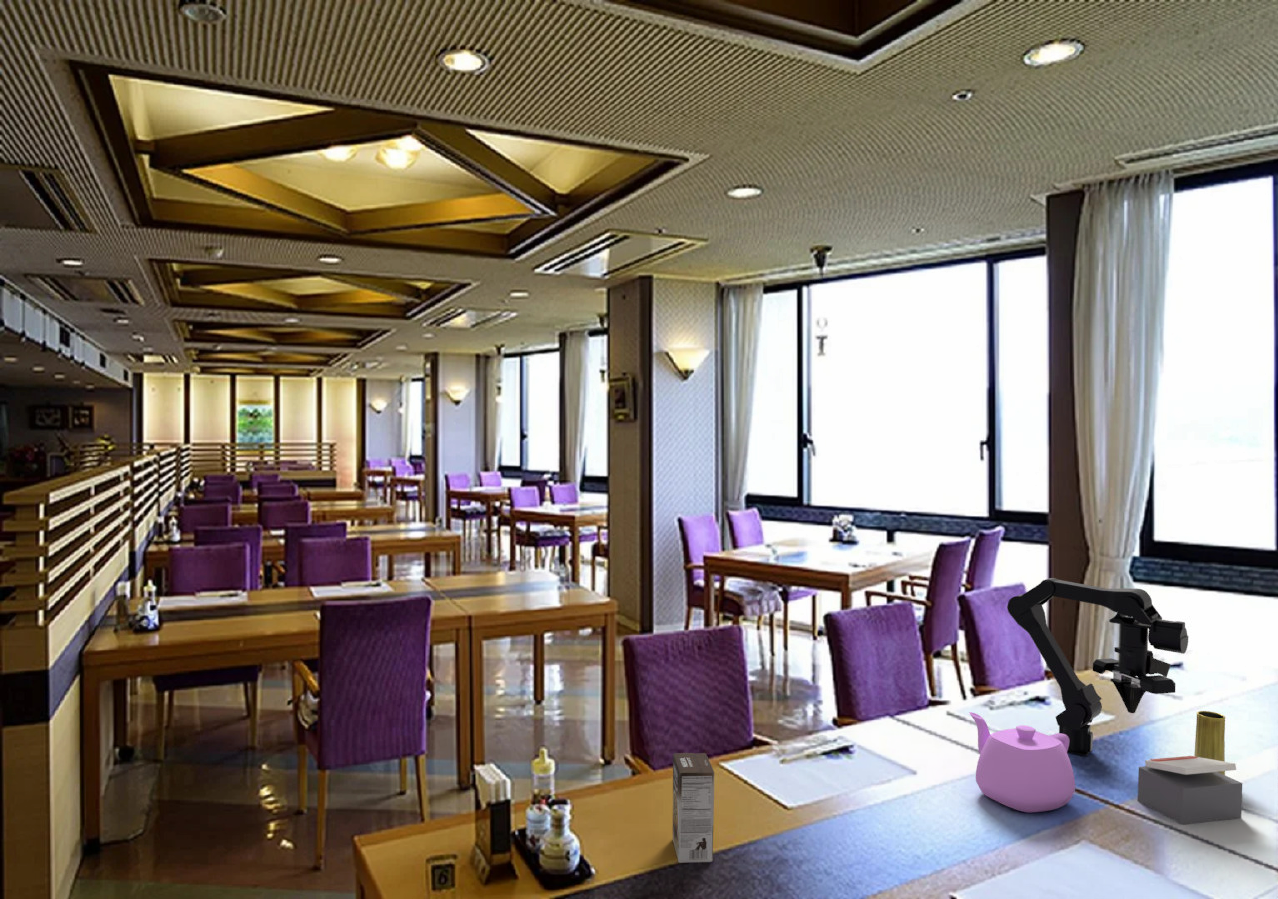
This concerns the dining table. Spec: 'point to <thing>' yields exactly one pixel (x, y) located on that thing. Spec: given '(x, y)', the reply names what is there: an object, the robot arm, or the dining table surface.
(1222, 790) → the switch box
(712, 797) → the coffee box
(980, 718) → the teapot
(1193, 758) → the rocker
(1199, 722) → the vase
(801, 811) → the dining table surface
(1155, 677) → the robot arm
